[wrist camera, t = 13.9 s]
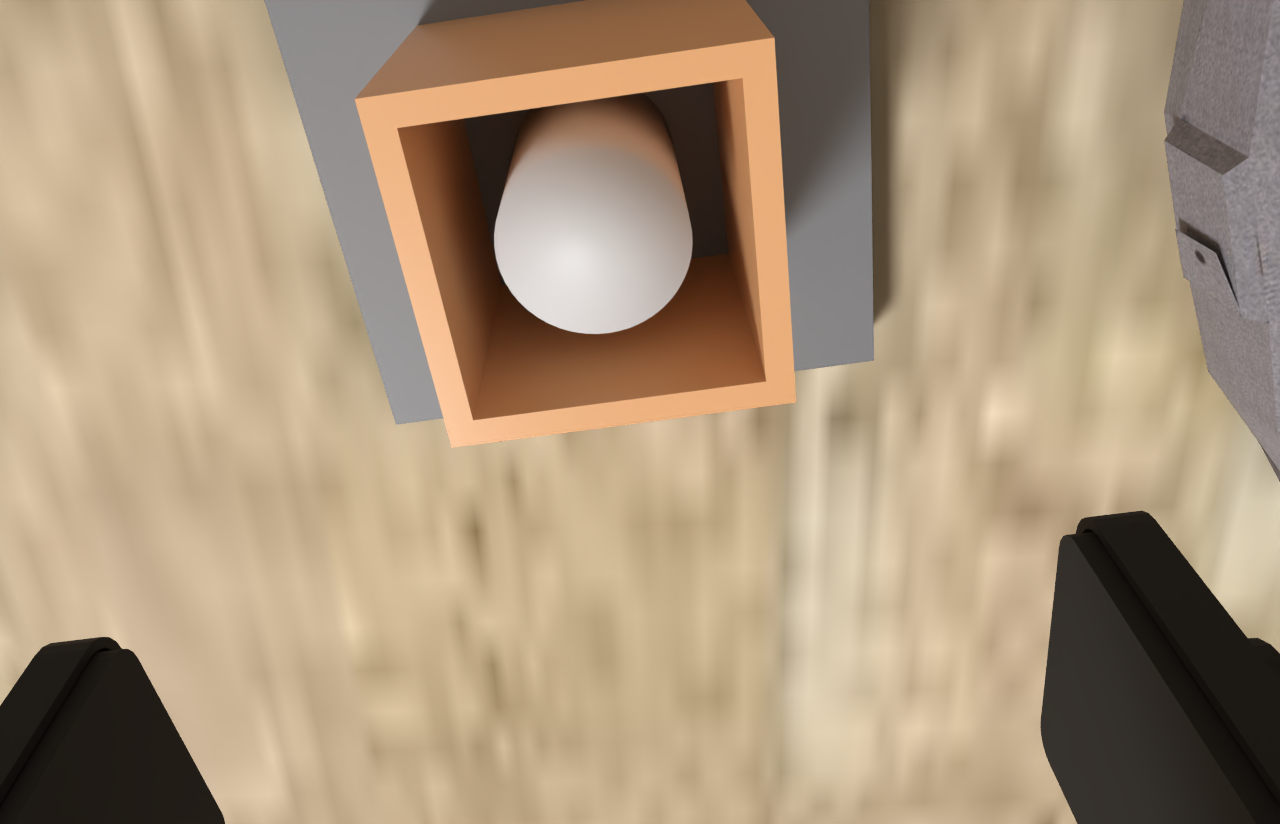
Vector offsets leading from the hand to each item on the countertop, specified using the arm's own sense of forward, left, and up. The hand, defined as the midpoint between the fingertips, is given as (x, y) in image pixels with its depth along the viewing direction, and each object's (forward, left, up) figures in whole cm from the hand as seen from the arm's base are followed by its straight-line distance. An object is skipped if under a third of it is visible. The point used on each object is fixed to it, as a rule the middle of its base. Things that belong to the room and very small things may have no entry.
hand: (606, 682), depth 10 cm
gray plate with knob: (0, 0, -19) cm, 19 cm away
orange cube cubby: (0, 0, -18) cm, 18 cm away
